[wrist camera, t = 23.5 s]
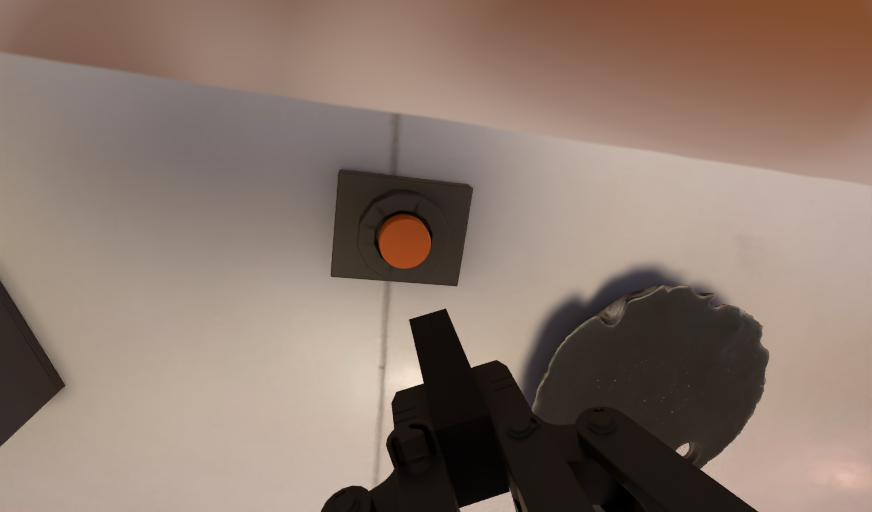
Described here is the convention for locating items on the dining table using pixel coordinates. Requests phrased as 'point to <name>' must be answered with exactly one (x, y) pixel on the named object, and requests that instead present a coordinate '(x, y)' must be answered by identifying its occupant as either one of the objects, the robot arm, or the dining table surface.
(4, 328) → the grey drawer box
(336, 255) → the control block
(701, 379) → the board
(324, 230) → the dining table surface
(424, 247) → the button
